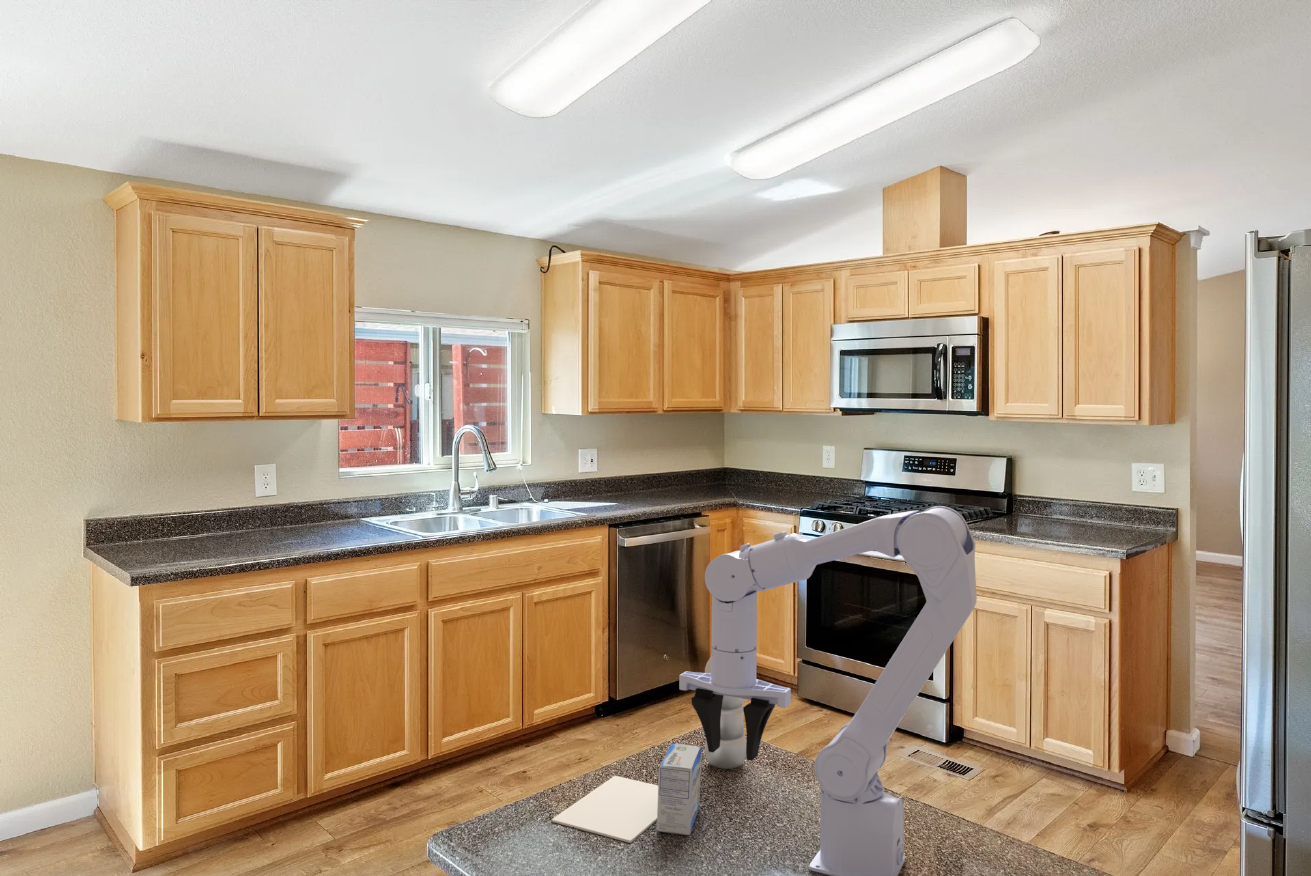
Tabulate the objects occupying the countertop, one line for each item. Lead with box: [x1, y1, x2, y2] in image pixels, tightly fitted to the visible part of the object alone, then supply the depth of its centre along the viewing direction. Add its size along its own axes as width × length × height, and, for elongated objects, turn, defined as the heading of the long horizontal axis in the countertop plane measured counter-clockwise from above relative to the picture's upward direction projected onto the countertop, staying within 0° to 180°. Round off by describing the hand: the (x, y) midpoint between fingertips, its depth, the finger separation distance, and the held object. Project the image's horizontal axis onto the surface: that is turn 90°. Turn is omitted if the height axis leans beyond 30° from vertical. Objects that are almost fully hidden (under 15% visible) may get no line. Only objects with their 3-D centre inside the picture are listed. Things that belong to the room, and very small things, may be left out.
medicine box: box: [656, 743, 702, 836], centre depth 111 cm, size 8×4×9 cm, turn 168°
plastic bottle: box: [704, 656, 747, 770], centre depth 130 cm, size 6×7×20 cm
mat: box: [551, 775, 658, 844], centre depth 115 cm, size 12×16×1 cm
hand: (732, 753), depth 108 cm, fingers open, 5 cm apart
